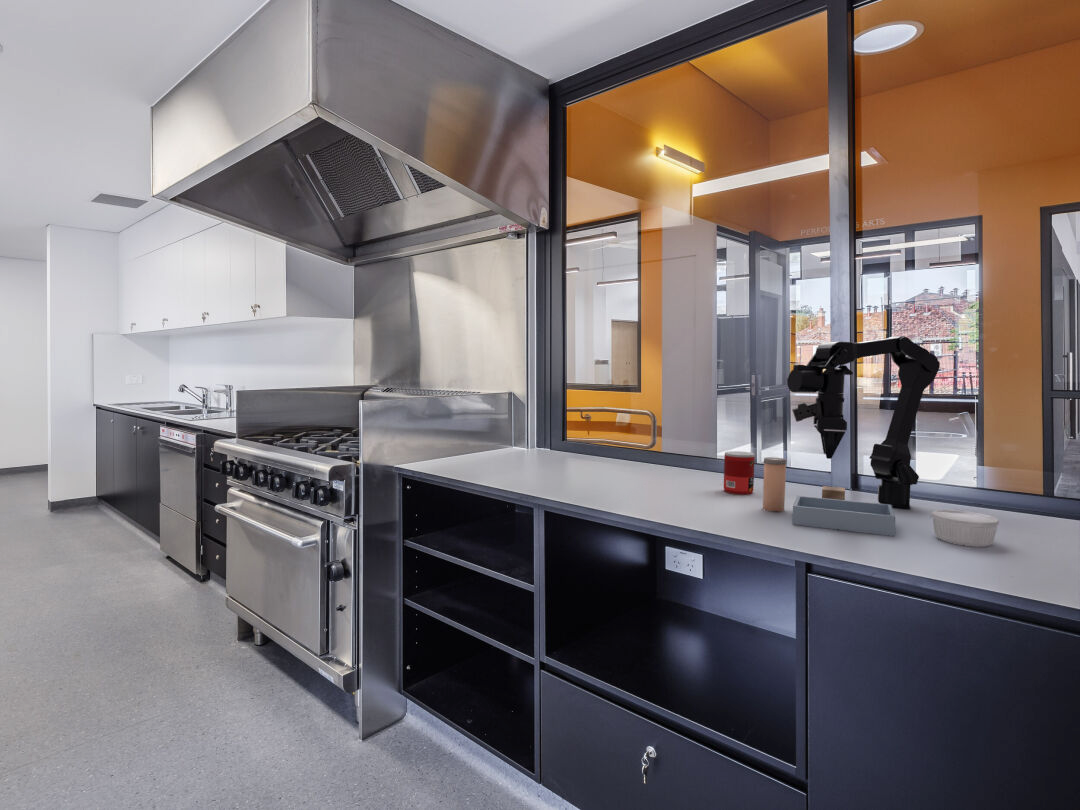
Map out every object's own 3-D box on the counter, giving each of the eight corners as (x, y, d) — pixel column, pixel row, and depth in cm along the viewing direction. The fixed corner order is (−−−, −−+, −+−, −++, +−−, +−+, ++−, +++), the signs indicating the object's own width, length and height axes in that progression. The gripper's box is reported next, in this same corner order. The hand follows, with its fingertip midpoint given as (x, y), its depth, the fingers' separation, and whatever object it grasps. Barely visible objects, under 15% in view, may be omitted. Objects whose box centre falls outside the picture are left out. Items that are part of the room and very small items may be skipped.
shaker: (785, 508, 147) (787, 458, 146) (783, 512, 143) (785, 461, 142) (763, 506, 150) (765, 456, 149) (760, 510, 145) (762, 459, 144)
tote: (890, 522, 134) (891, 504, 134) (894, 536, 123) (895, 516, 123) (796, 512, 143) (796, 495, 143) (792, 524, 132) (792, 506, 132)
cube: (844, 507, 149) (844, 487, 149) (844, 511, 145) (844, 491, 145) (822, 505, 152) (822, 486, 151) (821, 509, 147) (822, 489, 147)
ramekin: (963, 532, 127) (964, 508, 127) (1012, 548, 116) (1014, 521, 116) (917, 534, 125) (918, 509, 125) (963, 550, 114) (964, 523, 114)
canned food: (755, 495, 163) (756, 455, 162) (725, 493, 164) (726, 454, 163) (751, 489, 170) (752, 451, 169) (722, 488, 172) (723, 450, 171)
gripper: (794, 391, 158) (791, 449, 159) (796, 393, 140) (792, 458, 141) (840, 392, 153) (837, 452, 154) (848, 394, 136) (845, 462, 137)
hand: (827, 456), depth 147 cm, fingers open, 9 cm apart
